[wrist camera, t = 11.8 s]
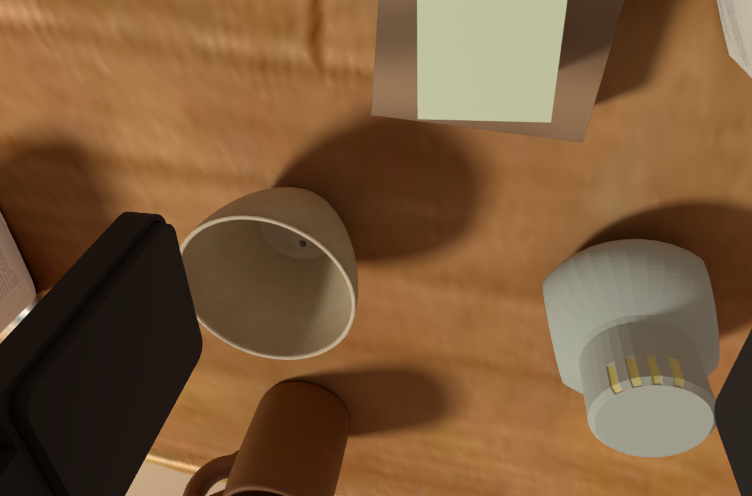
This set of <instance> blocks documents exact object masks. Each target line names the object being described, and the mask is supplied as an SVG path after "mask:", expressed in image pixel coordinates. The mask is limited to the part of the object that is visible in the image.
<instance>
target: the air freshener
mask: <svg viewBox="0 0 752 496" xmlns="http://www.w3.org/2000/svg"><path fill="white" fill-rule="evenodd" d="M542 285H543V295H544V302H545V308H546V313H547V319H548V324H549V329H550V334H551V338H552V343H553V348H554V352H555V356H556V360H557V364H558V368H559V372H560V375H561V378H562V381H563V383H564V384H565V385H567V386H568V387H570V388H572V389H574V390H576V391H578V392H580V393H582V394H584V399H585V406H586V412H587V418H588V424H589V426H590V429H591V431H592V432H593V434H594V435H595V436H596V437H597V438H598V439H599V440H600V441H601V442H603V443H604V444H606V445H607V446H609V447H611V448H613V449H615V450H617V451H620V452H622V453H625V454H629V455H633V456H639V457H664V456H670V455H674V454H678V453H681V452H684V451H687V450H689V449H691V448H693V447H695V446H696V445H698V444H699V443H701V442H702V441H703V440H704V439H705V438H706V437H707V436H708V435H709V434H710V433H711V432H712V431H713V429H714V428H715V426H716V422H715V416H714V407H715V402H716V401H715V398H714V395H713V393H712V390H711V387H710V384H709V381H708V379H707V376H709V375H710V374H711V373H712V372H713V371H714V370H715V369H716V368H717V367H718V363H719V332H718V322H717V314H716V307H715V301H714V296H713V291H712V286H711V282H710V278H709V275H708V271H707V268H706V266H705V263H704V261H703V260H702V258H700V257H698V256H697V255H695V254H693V253H692V252H690V251H688V250H686V249H683V248H680V247H678V246H675V245H673V244H669V243H665V242H660V241H656V240H645V239H623V240H616V241H610V242H605V243H601V244H598V245H595V246H591V247H589V248H587V249H584V250H582V251H580V252H578V253H576V254H574V255H573V256H571V257H569V258H568V259H566V260H565V261H563V262H562V263H561V264H560V265H558V266H557V267H556V268H555V269H554V270H553V271H552V272H551V273H550V274H549V275H548V276H547V277H546V279H545V280H544V281H543V283H542Z"/></svg>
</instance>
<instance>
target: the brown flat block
mask: <svg viewBox="0 0 752 496" xmlns="http://www.w3.org/2000/svg"><path fill="white" fill-rule="evenodd" d="M624 2H625V0H567V7H566V14H565V22H564V29H563V37H562V44H561V51H560V59H559V66H558V74H557V81H556V89H555V96H554V103H553V111H552V118H551V123H550V122H510V121H471V120H432V119H418V107H417V0H379V3H378V19H377V34H376V49H375V65H374V80H373V95H372V111H371V115H376V116H383V117H391V118H399V119H406V120H414V121H421V122H429V123H437V124H444V125H452V126H460V127H467V128H475V129H482V130H490V131H498V132H505V133H513V134H520V135H528V136H536V137H543V138H551V139H559V140H566V141H574V142H581V143H583V140H584V137H585V133H586V130H587V126H588V123H589V120H590V116H591V113H592V110H593V106H594V103H595V100H596V96H597V93H598V90H599V86H600V83H601V80H602V76H603V73H604V69H605V66H606V63H607V59H608V56H609V53H610V49H611V46H612V43H613V39H614V36H615V33H616V29H617V26H618V23H619V19H620V16H621V13H622V9H623V6H624Z"/></svg>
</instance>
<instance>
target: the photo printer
mask: <svg viewBox="0 0 752 496" xmlns="http://www.w3.org/2000/svg"><path fill="white" fill-rule="evenodd" d="M35 295H36V292H35V287H34V284H33V281H32V279H31V276H30V275H29V272H28V270H27V268H26V265H25V263H24V261H23V259H22V257H21V254H20V252H19V250H18V248H17V246H16V243H15V241H14V239H13V237H12V235H11V233H10V231H9V229H8V226H7V224H6V222H5V220H4V218H3V216H2V214H1V212H0V333H1V332H2V331H3V330H4V329H5V328H6V327H7V326H8V325H9V324H10V323H11V322H12V321H13V320H14V319H15V318H16V317H17V316H18V315H19V314H20V313H21V312H22V311H23V310H24V309H25V308H26V307H27V306H28V305H29V304H30V303H31V302H32V300H33V299H34V298H35Z"/></svg>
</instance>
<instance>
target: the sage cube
mask: <svg viewBox="0 0 752 496" xmlns="http://www.w3.org/2000/svg"><path fill="white" fill-rule="evenodd" d="M566 7H567V0H417V107H418V119H432V120H471V121H510V122H550V123H551V118H552V111H553V103H554V96H555V89H556V81H557V74H558V66H559V59H560V51H561V44H562V37H563V29H564V22H565V14H566Z"/></svg>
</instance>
